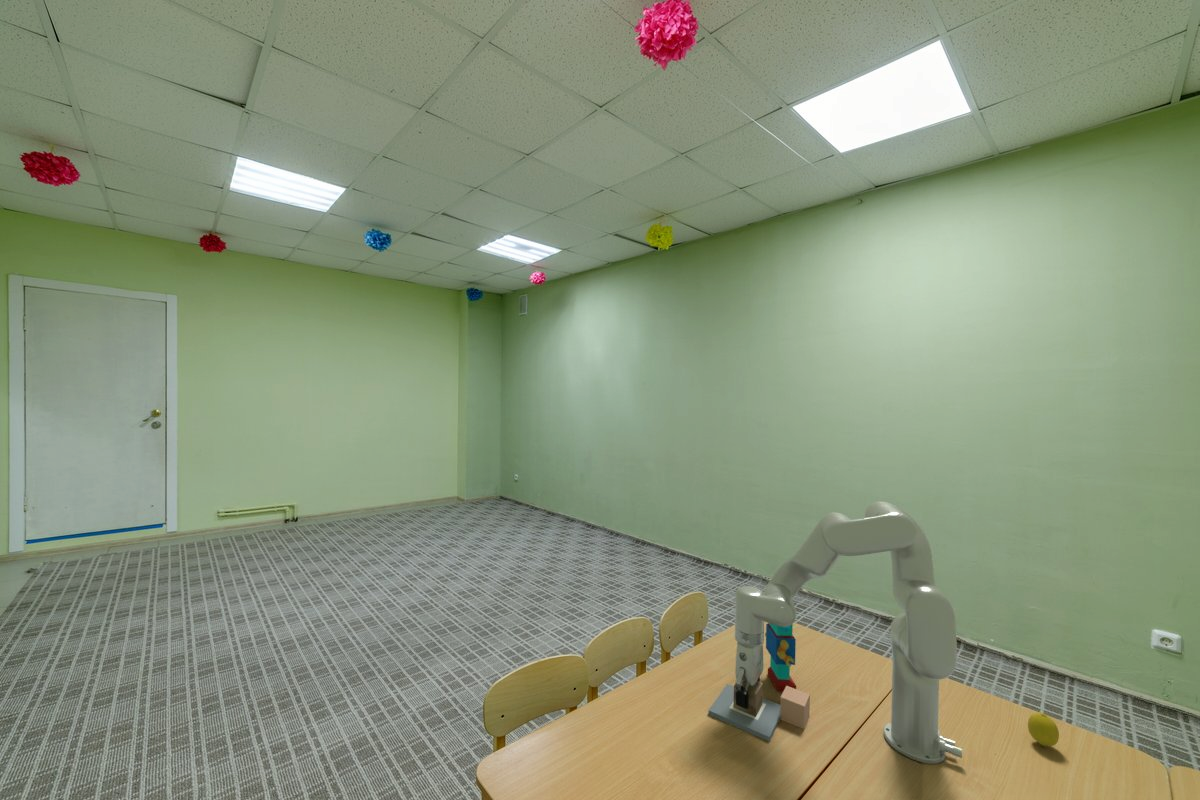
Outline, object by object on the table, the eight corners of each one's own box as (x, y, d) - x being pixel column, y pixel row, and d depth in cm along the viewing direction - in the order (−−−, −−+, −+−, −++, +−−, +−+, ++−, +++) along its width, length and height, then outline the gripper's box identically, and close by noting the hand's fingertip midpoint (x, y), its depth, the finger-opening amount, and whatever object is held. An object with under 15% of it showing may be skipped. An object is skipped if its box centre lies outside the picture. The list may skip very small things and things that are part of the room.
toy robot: (798, 695, 130) (800, 609, 130) (777, 695, 130) (778, 608, 130) (783, 671, 142) (784, 591, 141) (763, 670, 142) (765, 591, 141)
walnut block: (762, 704, 124) (762, 682, 124) (755, 716, 119) (756, 694, 119) (740, 695, 128) (741, 674, 128) (733, 707, 123) (733, 685, 123)
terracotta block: (809, 716, 122) (809, 694, 122) (804, 729, 117) (804, 706, 117) (786, 707, 125) (786, 685, 125) (780, 719, 121) (780, 697, 120)
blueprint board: (784, 710, 124) (784, 706, 124) (769, 742, 112) (769, 737, 112) (727, 687, 133) (727, 683, 133) (708, 714, 122) (708, 709, 122)
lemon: (1048, 756, 109) (1049, 723, 109) (1021, 739, 114) (1022, 708, 114) (1064, 752, 111) (1065, 719, 111) (1037, 735, 116) (1037, 704, 116)
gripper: (753, 653, 114) (751, 720, 114) (772, 625, 128) (771, 685, 128) (724, 643, 119) (723, 708, 119) (745, 617, 133) (744, 676, 133)
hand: (748, 696), depth 124 cm, fingers open, 9 cm apart
